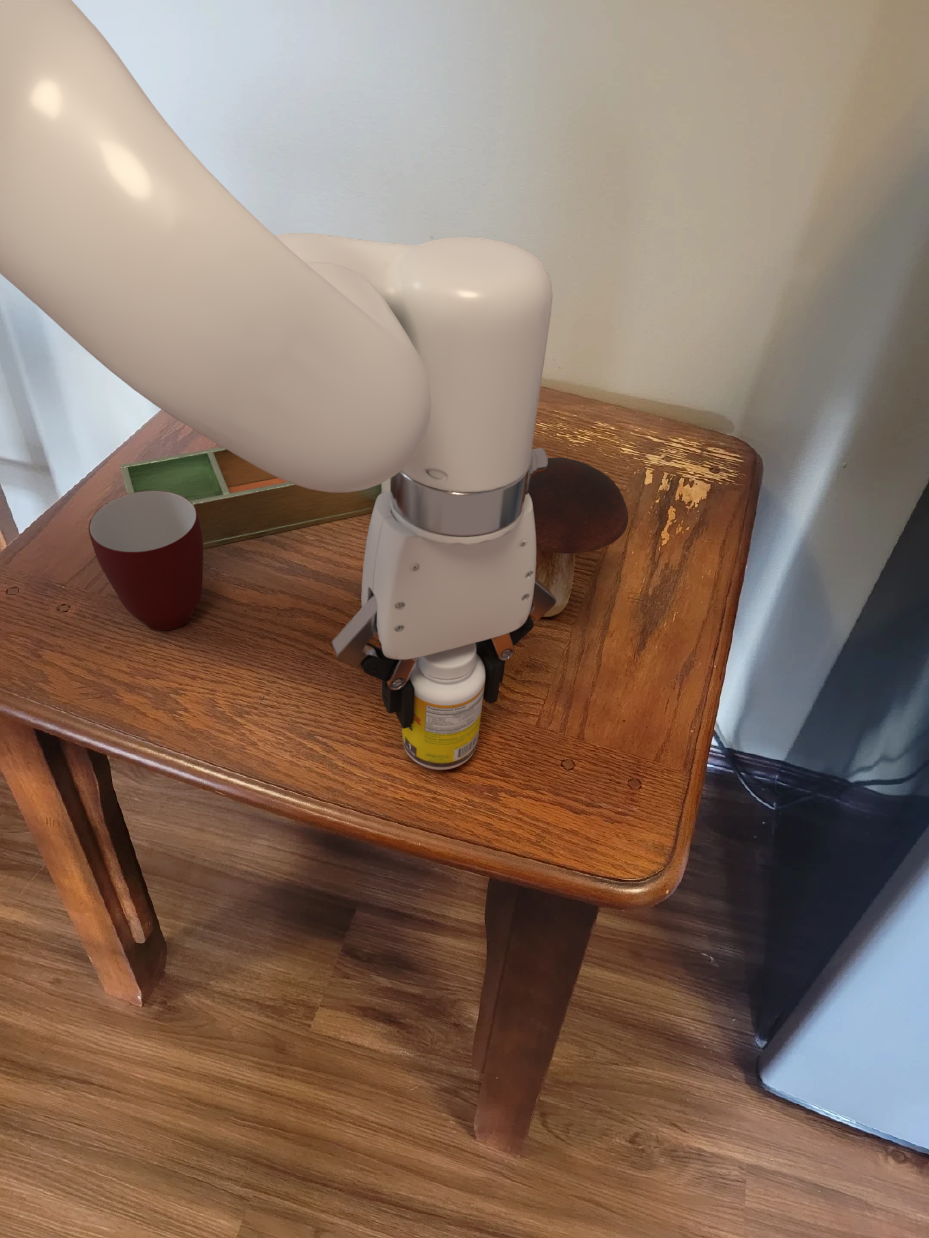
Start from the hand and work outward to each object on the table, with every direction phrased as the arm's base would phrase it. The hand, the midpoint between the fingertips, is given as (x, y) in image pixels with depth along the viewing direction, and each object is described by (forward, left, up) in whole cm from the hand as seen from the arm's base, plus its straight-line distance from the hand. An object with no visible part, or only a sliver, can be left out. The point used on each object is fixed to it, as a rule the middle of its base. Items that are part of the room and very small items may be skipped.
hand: (442, 698), depth 59 cm
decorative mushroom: (+15, +11, -6) cm, 19 cm away
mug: (-16, +23, -6) cm, 29 cm away
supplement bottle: (0, 0, -5) cm, 5 cm away
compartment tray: (-4, +34, -6) cm, 35 cm away
